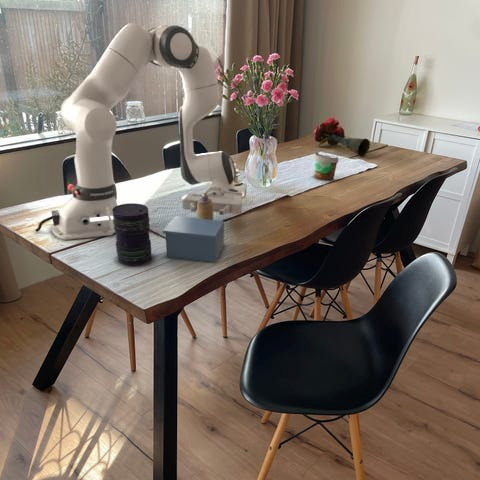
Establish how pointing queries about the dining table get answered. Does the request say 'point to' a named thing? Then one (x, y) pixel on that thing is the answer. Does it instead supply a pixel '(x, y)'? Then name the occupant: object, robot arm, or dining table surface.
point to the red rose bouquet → (340, 137)
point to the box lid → (194, 227)
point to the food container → (324, 167)
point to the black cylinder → (132, 234)
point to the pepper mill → (205, 208)
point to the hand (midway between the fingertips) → (207, 211)
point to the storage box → (195, 247)
